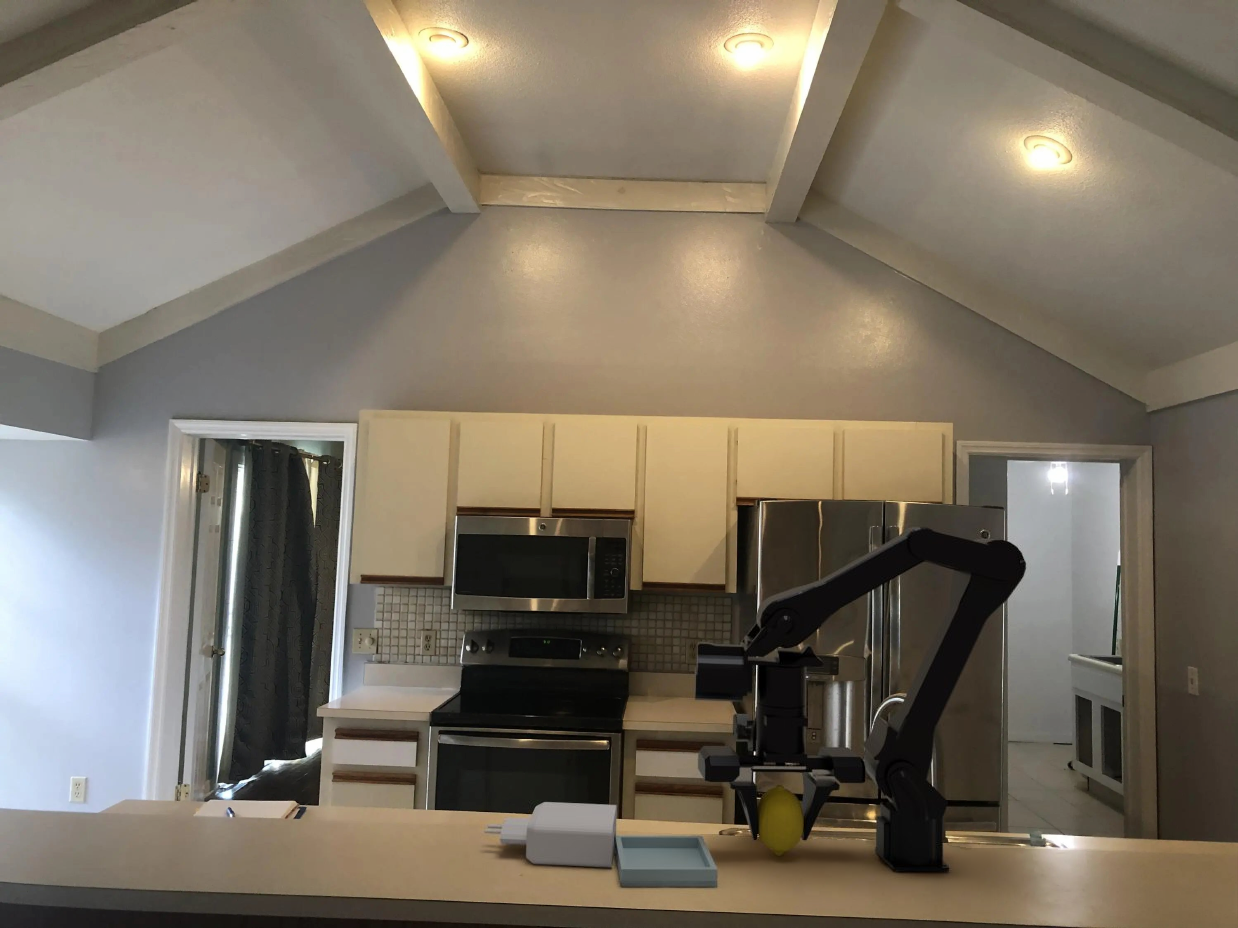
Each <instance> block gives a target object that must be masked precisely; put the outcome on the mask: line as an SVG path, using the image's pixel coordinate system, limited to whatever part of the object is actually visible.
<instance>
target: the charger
mask: <svg viewBox="0 0 1238 928" xmlns="http://www.w3.org/2000/svg"><path fill="white" fill-rule="evenodd" d="M617 808H618V805H617V804H602V803H601V804H597V803H579V802H578V803H572V802H556V801H555V802H552V801H550V802H549V801H543V802H542V803H540V804H538V805H536V806H535V808H534V810H533V812H532V814H531V816H530V818H529V817H527V818H526V817H505V819H504V822H503V823H502V824H493V823H492V824H491V823H490V824H487V828H488V829H487V828H486V829H484V834H496V835H497V834H498V835H499V842H500V844H502V845H514V846H515V845H520V846H525V847H526V848H525V851H526V852H525V858H526V859H527V861H529V862H531V863H532V864H534V865H547V866H548V865H550V866H568V867H569V866H570V867H590V868H591V867H594V868H612V867H613V863H614V855H615V835H617V818H618V817H617V816H618V815H617V813H618V811H617V810H618V809H617Z"/></svg>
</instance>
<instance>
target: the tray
mask: <svg viewBox="0 0 1238 928" xmlns="http://www.w3.org/2000/svg"><path fill="white" fill-rule="evenodd" d="M614 846H615V850H614V855H615V860H616V866H617V872H618V879H619V883H620V887H621V888H681V887H682V888H717V887H718V868H717V864H716V863H715V861H714V859H713V856H712V854H711V852H710V851H709V848H708V846H707V842H705V839H704V837H703V835H620V834H619V835H617V834H616V835H615V842H614Z"/></svg>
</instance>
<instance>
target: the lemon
mask: <svg viewBox="0 0 1238 928" xmlns="http://www.w3.org/2000/svg"><path fill="white" fill-rule="evenodd" d="M757 809H758V837H759V840H760V841H761V842H762V844H764V846H766V847H767V848H768V849H769V850H772V851H773V853H774V854H775V855H777V856H782V855H783V854H785V852H787V851H790V850H792V849H793V848H795V847H796V846H797V845H798V843H799V842H800V840H801V839H802V838H801V836H802V833H803V827H804V818H803V812H802V804H801V802H800V801H799V799H798V797H797V796H796V794H794V793H793V792H792V791H791V790H788V789H787V788H785V787H784V786H783V785H781V784H778V785H776V786H775V787H773V788H770V789H768V790H766V792H764V793H763V794H762V796H761V797H760V798H759V800H758V802H757Z"/></svg>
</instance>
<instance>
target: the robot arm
mask: <svg viewBox="0 0 1238 928" xmlns="http://www.w3.org/2000/svg"><path fill="white" fill-rule="evenodd" d="M922 563H928V564H932V565H934V566H938V567H942V568H945V569H948V570H952V571H953V573H952V576H951V584H950V595H949V602H948V603H949V604H948V606H947V608H946V610H945V612H944V615H943V617H942V619H941V621H940V623H939V625H938V627H937V629H936V632H935V634H934V636H933V638H932V640H931V642H930V643H929V646H928V649H927V650H926V652H925V655H924V657H923V659H922V661H921V663H920V665H919V667H918V669H917V672H916V673H915V676H914V678H913V680H912V683H911V684H910V686H909V688H908V691H907V693H906V694H905V697H904V699H903V701H902V703H901V706H900V707H899V709H898V710H897V712H895V713H894V715H892V716H890V718H889V719H888V720H887V721H886V720H885V719H883V717H881V716H878V715H877V716H876V717H875V719H874V722H873V725H872V729H871V732H870V734H869V735H868V737H867V739H866V740H865V741H864V742H862V744H861V746H862V747H863V749H865V752H864V755H863V759H862V758H861V756H860V755H858V754H857V753H856V752H854V751H853V750H852V749H851V748H849V747H848V746H847V747H843V746H840V747H839V746H838V747H837V746H833V747H832V746H831V747H830V746H828V747H827V746H820V748H819V751H818V753H817V755H808V753H807V751H806V735H807V734H806V730H807V729H806V728H807V727H809V723H808V721H809V717H807V715H806V714H807V706H806V705H807V668H823V667H824V665H825V663H824V661H823V660H822V659H821V658H820V657H819V656H817V655H816V653H815V652H814V650H813V647H812V646H811V645H809V644H807V643H806V644H804V646H803V647H802V648H800V650H792V648H794V647H797V646H799V645H800V644H802V643H804V641H805V640H807V639H808V638H809V637H811V635H813V634H814V633H815V632H817V631H818V630H819V629H820V628H821V627H822V626H823V625H824V624H825V623H826V622H827V621H828V620H829V619H830V618H831V617H832V616H833V615H834V614H835V613H837V612H838V611H839V610H840V609H841V608H843V607H845V606H847V605H849V604H851V603H852V602H854V601H856V600H857V599H860V598H861V597H863V596H865V595H867V594H869V593H870V592H872V591H875V589H877V588H879V587H881V586H882V585H884V584H886V583H888V582H890V581H892V580H894V579H895V578H898V576H900V575H902V574H904V573H906V572H908V571H909V570H911V569H913V568H915V567H916V566H919V565H920V564H922ZM1026 570H1027V562H1026V560H1025V558H1024V556H1023V552H1022V551H1021V550H1020V549H1019V548H1018V546H1017V545H1015V544H1014V543H1012V542H1011V541H1007V540H1005V539H996V538H995V539H993V538H992V539H991V538H977V539H973V540H971V539H968V538H963V537H959V536H954V535H950V534H947V533H942V532H939V531H934V530H933V529H931V528H928V527H925V526H924V527H923V526H922V527H920V526H919V527H918V526H911V527H908V528H906V529H904V530H903V531H902V532H901V533H900V534H899V535H897V536H896V537H894V538H892V539H891V540H889V541H887V542H885V543H883V544H882V545H880V546H878V547H876V548H875V549H873V550H871V551H870V552H867V553H866V554H864V555H862V556H861V557H859V558H857V559H855V560H854V561H851V562H849V563H848V564H846V565H845V566H843V567H841V568H838V569H837V570H835V571H834V572H832V573H831V574H829V575H827V576H824V577H823V578H822V579H820V580H816V581H813V582H810V583H808V584H804V585H800V586H797V587H793V588H791V589H787V590H785V591H782V592H779V593H776V594H773V595H770V596H768V597H767V598H766V599H764V600H762V601H761V602H760V604H759V606H758V609H757V612H756V616H755V617H756V622H755V623H754V625H753V626H752V628H751V629H750V630H749V632H748V633H747V634H746V635H744V637H743V639H742V640H741V642H740V644H736V643H735V644H731V643H729V644H728V643H713V642H710V641H698V642H697V647H696V648H697V651H696V665H694V701H706V702H709V701H710V702H731V703H733V702H734V703H742V702H743V700H744V699H743V698H744V697H748V694H749V695H750V694H751V695H752V693H753V682H754V681H753V680H754V678H753V675H754V672H753V666H757V669H756V671H757V672H756V673H757V675H756V676H757V678H756V706H755V711H754V719H751V715H750V714H748V713H734V714H733V715H732V739H733V741H734V742H747V750H748V751H750V752H751V751H752V753H753V752H754V753H755V754H738V753H737V752H736V750H735V749H734V748H733V747H732V746H731V745H727V746H726V745H703V746H702V747H701V748H700V750H699V751H698V755H697V770H698V771H699V773H700V774H701V777H702V778H703V780H704V781H705V782H707V783H709V782H710V783H726V784H727V785H728V787H729V789H731V790H735V791H737V793H738V794H737V795H738V796H739V799H740V801H741V805H742V808H743V812H744V814H745V817H746V822H747V825H748V829H749V831H750V836H751V838H752V840H753V841H758V837H759V835H758V809H757V806H758V791H757V790H758V788H757V785H756V782H754V780H753V779H752V777H753V776H752V775H753V773H801V774H802V783H803V786H802V787H803V795H802V804H801V808H802V812H803V818H804V827H803V833H802V836H801V838H800V839H802V840H803V841H807V840H808V839H809V836H810V833H811V832H812V830H813V827H814V826H815V823H816V821H817V818H818V817H819V814H820V812H821V810H822V808H823V807H824V806H825V803H826V802H827V800H828V798H829V797H830V795H831V793H832V792H833V791H839V790H840V789H841V784H864V783H866V775H868V776H869V777H870V778H871V780H872V781H873V782H874V783H875V785H876V786H877V788H878V789H879V790H880V791H881V793H882V795H883V796H884V797H886V799H887V801H881V802H880V815H877V816H876V817H875V829H876V830H875V847H874V852H875V853H876V854H877V855H878V856H879V857H880V858H881V859H882V860H883V862H885V864H886V865H887V866H889V867H890V868H891V869H892V871H895V872H949V871H950V865H949V864H948V863H946V862H945V861H944V815H945V813H946V809H947V808H948V804H949V802H948V800H947V799H946V798H945V797H944V796H943V794H941V793H940V792H939V791H938V790H937V789H936V788H935V787H934V785H932V784H931V783H930V782H929V781H928V778H929V777H928V776H929V773H930V770H931V766H932V762H933V757H934V745H935V735H936V730H937V727H938V724H939V723H940V720H941V719H942V716H943V714H944V712H945V710H946V707H947V705H948V703H949V701H950V699H951V697H952V696H953V694H954V693H953V692H954V691H955V689H956V687H957V684H958V682H959V680H960V678H961V676H962V673H963V672H964V669H965V667H966V666H967V663H968V661H969V659H970V657H971V654H972V652H973V650H974V648H975V646H976V644H977V642H978V640H979V637H980V635H981V633H982V631H983V629H984V627H985V625H986V623H987V622H988V619H989V618H991V616H992V615H993V614H994V613H995V612H997V610H999V609H1000V608H1001V606H1003V604H1005V602H1006V601H1008V599H1009V598H1010V597H1011V595H1012V594H1013V592H1014V591H1015V590H1016V588H1017V587H1018V586H1019V584H1020V583H1021V581H1023V578H1024V577H1025V574H1026ZM779 648H782V649H779ZM786 649H787V650H786ZM788 649H791V650H788ZM774 651H775V653H774V656H768V655H770V654H771V653H772V652H774ZM768 763H769V764H768ZM866 773H867V774H866ZM839 783H840V784H839Z"/></svg>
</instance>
